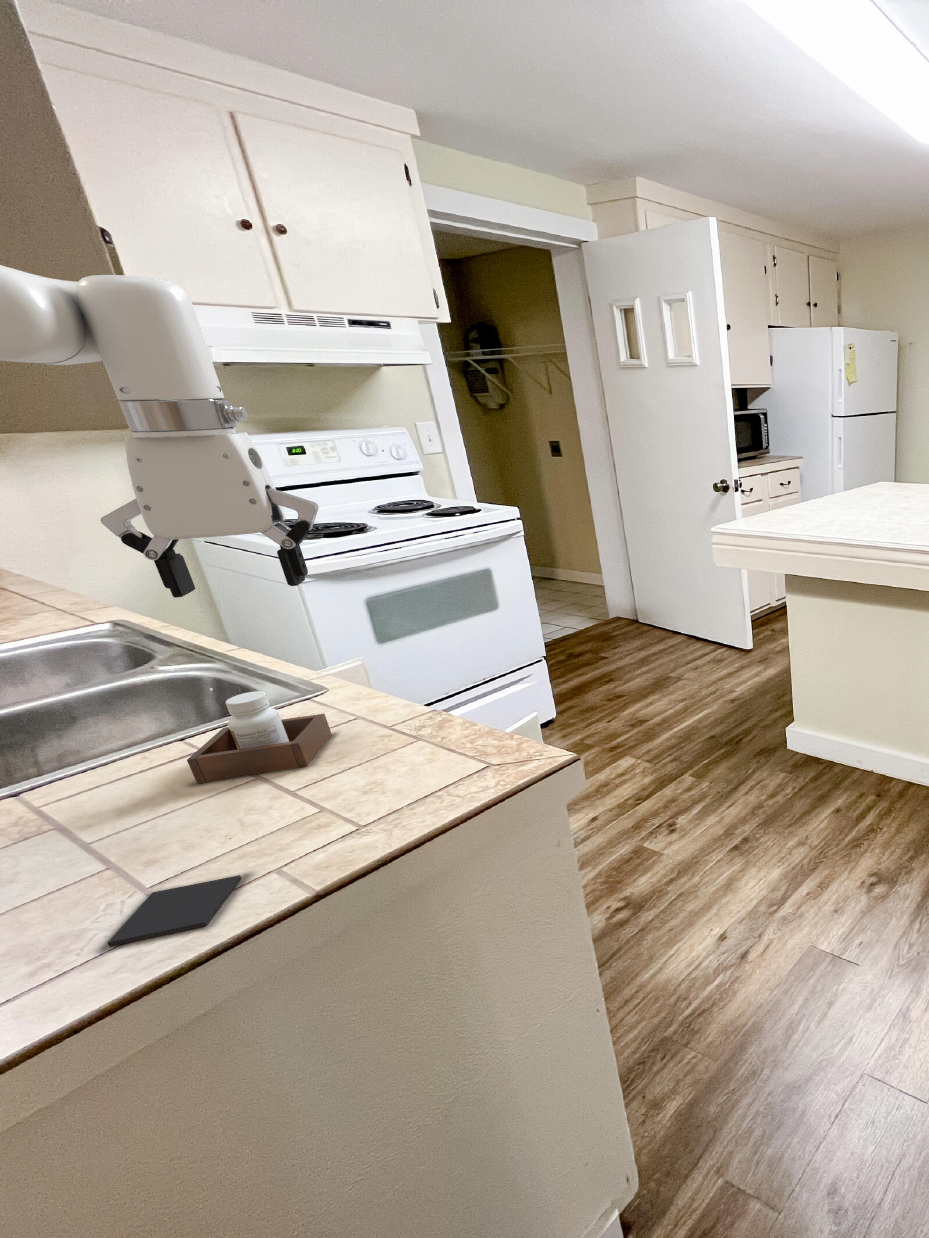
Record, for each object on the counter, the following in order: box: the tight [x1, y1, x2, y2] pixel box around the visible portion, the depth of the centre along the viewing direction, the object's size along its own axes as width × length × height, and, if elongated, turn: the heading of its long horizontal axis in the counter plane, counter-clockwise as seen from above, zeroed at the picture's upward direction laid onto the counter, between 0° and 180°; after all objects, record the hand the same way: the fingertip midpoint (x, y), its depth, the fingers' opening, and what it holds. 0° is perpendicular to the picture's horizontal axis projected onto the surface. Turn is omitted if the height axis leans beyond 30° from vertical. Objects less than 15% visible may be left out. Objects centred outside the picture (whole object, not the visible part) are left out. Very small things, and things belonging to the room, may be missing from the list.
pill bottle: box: [225, 691, 289, 749], centre depth 78 cm, size 4×4×8 cm
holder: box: [186, 713, 333, 785], centre depth 79 cm, size 10×8×3 cm
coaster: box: [106, 874, 242, 947], centre depth 56 cm, size 6×6×1 cm
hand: (242, 588), depth 73 cm, fingers open, 9 cm apart
